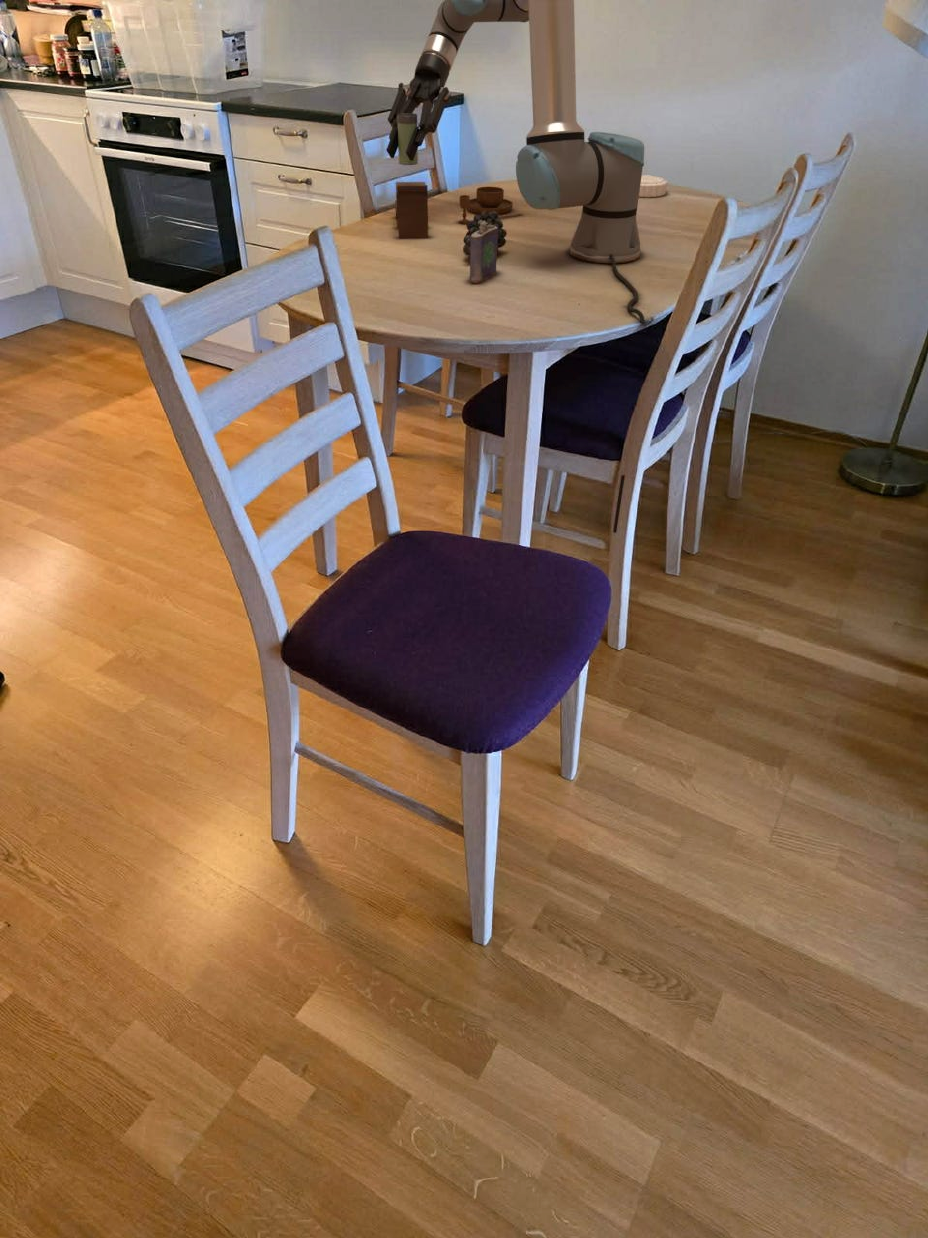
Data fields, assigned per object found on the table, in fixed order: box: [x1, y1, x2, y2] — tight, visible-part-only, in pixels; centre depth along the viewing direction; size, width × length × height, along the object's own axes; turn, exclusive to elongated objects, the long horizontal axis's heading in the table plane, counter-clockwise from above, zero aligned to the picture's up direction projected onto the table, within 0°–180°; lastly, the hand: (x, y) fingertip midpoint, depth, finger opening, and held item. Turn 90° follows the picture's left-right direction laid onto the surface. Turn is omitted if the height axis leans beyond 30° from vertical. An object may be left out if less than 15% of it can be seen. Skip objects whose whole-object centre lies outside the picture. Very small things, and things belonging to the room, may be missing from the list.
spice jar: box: [397, 112, 419, 166], centre depth 195 cm, size 5×5×10 cm
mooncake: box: [639, 174, 668, 198], centre depth 232 cm, size 12×12×4 cm
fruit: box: [462, 211, 508, 259], centre depth 180 cm, size 9×8×15 cm
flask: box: [469, 220, 498, 285], centre depth 168 cm, size 9×3×11 cm, turn 151°
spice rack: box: [394, 181, 429, 239], centre depth 197 cm, size 19×7×11 cm, turn 6°
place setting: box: [458, 186, 522, 225], centre depth 211 cm, size 18×20×6 cm
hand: (399, 155), depth 194 cm, fingers closed on spice jar, 5 cm apart
